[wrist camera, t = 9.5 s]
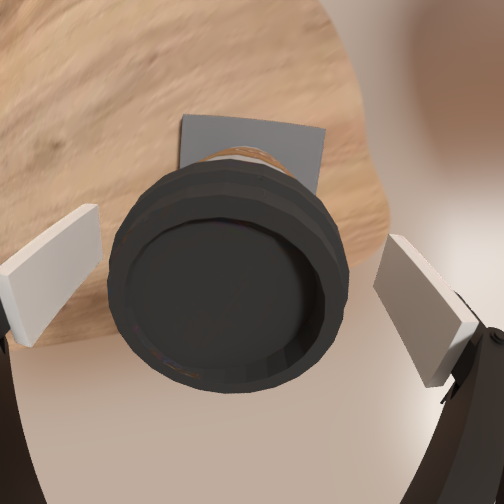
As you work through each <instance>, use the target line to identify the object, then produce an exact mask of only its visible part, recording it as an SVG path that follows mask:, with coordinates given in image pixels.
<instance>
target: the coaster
mask: <svg viewBox="0 0 504 504" xmlns="http://www.w3.org/2000/svg"><path fill="white" fill-rule="evenodd" d="M325 131H326V129H324V128H318V127H311V126H305V125H298V124H291V123H283V122H275V121H267V120H258V119H248V118H237V117H224V116H209V115H190V114H183V122H182V136H181V153H180V169H181V168H183V167H186V166H188V165H190V164H193V163H196V162H198V161H200V160H202V159H204V158H206V157H208V156H210V155H212V154H214V153H217V152H219V151H222V150H225V149H228V148H231V147H238V146H248V147H254V148H258V149H260V150H262V151H264V152H267V153H268V154H270V155H272V156H273V157H274V158H275V159H276V160H278V161H279V162H280V163H281V164H282V165H283V166H284V167H285V168H286V169H287V170H288V171H289V172H290V173H291V174H292V175H293V176H294V177H295V178H296V179H297V180H298V181H299V182H300V183H301V184H303V185H304V186H305V187H306V188H307V189H308V190H309V191H311V192H312V193H313V194H314V195H315V196H316V190H317V184H318V178H319V171H320V165H321V158H322V152H323V145H324V138H325Z"/></svg>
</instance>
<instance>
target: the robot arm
mask: <svg viewBox="0 0 504 504" xmlns="http://www.w3.org/2000/svg"><path fill="white" fill-rule="evenodd" d="M102 259H103V255H102V245H101V234H100V221H99V206H98V204H83V205H81V206H80V207H78V208H77V209H75V210H74V211H73V212H71V213H70V214H68V215H67V216H65V217H64V218H62V219H61V220H59V221H58V222H57V223H55V224H54V225H52V226H51V227H50V228H48V229H47V230H46V231H44V232H43V233H41V234H40V235H39V236H37V237H36V238H35V239H33V240H32V241H31V242H29V243H28V244H27V245H25V246H24V247H23V248H22V249H20V250H19V251H17V252H16V253H15V254H14V255H12V256H11V257H10V258H9V259H7V260H6V261H5V262H4V263H3V264H1V265H0V504H47V502H46V500H45V498H44V495H43V492H42V489H41V487H40V484H39V481H38V478H37V475H36V473H35V470H34V466H33V463H32V460H31V457H30V454H29V450H28V447H27V443H26V440H25V436H24V432H23V428H22V424H21V420H20V415H19V411H18V406H17V401H16V396H15V390H14V384H13V378H12V371H11V364H10V356H9V346H8V342H7V339H6V337H5V335H6V333H7V332H8V331H9V330H10V329H11V332H12V335H13V337H14V340H15V342H16V343H19V344H22V345H25V346H28V347H32V346H33V345H34V343H35V342H36V340H37V339H38V338H39V336H40V335H41V334H42V332H43V331H44V330H45V328H46V327H47V326H48V325H49V323H50V322H51V321H52V319H53V318H54V317H55V316H56V314H57V313H58V312H59V311H60V309H61V308H62V307H63V306H64V304H65V303H66V302H67V301H68V299H69V298H70V297H71V296H72V294H73V293H74V292H75V291H76V290H77V288H78V287H79V286H80V285H81V284H82V282H83V281H84V280H85V279H86V278H87V277H88V275H89V274H90V273H91V272H92V271H93V270H94V269H95V267H96V266H97V265H98V264H99V263H100V262H101V261H102ZM373 287H374V289H375V290H376V292H377V294H378V296H379V298H380V299H381V301H382V303H383V305H384V306H385V308H386V310H387V312H388V314H389V316H390V318H391V319H392V321H393V323H394V325H395V327H396V329H397V331H398V333H399V335H400V337H401V339H402V341H403V343H404V345H405V346H406V348H407V350H408V352H409V354H410V356H411V358H412V360H413V362H414V364H415V367H416V369H417V371H418V372H419V375H420V377H421V379H422V381H423V383H424V385H425V387H426V388H429V387H438V386H443V385H444V383H445V382H446V380H447V379H448V377H449V375H450V374H452V376H453V377H454V379H455V382H454V383H453V385H452V386H451V388H450V389H449V391H448V392H447V394H446V395H445V397H444V398H443V400H442V401H441V402H440V403H441V404H443V403H444V401H446V402H445V405H444V408H443V410H442V413H441V416H440V419H439V421H438V424H437V426H436V429H435V431H434V434H433V436H432V439H431V441H430V444H429V446H428V448H427V450H426V453H425V455H424V457H423V459H422V461H421V464H420V466H419V468H418V470H417V472H416V474H415V476H414V478H413V480H412V482H411V484H410V486H409V488H408V489H407V491H406V493H405V495H404V497H403V499H402V500H401V502H400V504H494V503H495V504H504V332H503V331H502V330H500V329H497V328H494V327H488V328H486V327H485V325H484V324H483V323H482V322H481V320H480V319H479V318H478V317H477V315H476V314H475V313H474V312H473V311H472V310H471V308H470V307H469V306H468V305H467V304H466V303H465V301H464V300H463V299H462V297H461V296H460V295H459V294H457V293H456V292H455V291H453V290H452V289H451V287H450V286H449V285H448V284H447V283H446V282H445V281H444V280H443V278H442V277H441V276H440V275H439V274H438V273H437V272H436V271H435V269H433V267H432V266H431V265H430V264H429V263H428V262H427V261H426V260H425V259H424V257H423V256H422V255H421V254H420V253H419V252H418V251H417V250H416V249H415V248H414V247H413V246H412V245H411V244H410V243H409V242H408V241H407V240H406V239H405V238H404V237H403V236H401V235H393V234H388V237H387V241H386V244H385V248H384V252H383V255H382V259H381V262H380V266H379V269H378V272H377V275H376V279H375V282H374V285H373Z"/></svg>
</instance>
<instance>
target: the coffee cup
mask: <svg viewBox="0 0 504 504" xmlns="http://www.w3.org/2000/svg"><path fill="white" fill-rule="evenodd" d="M348 286H349V268H348V264H347V260H346V256H345V252H344V248H343V244H342V241H341V238H340V234H339V231H338V227H337V225H336V224H335V222H334V221H333V219H332V217H331V216H330V214H329V212H328V211H327V209H326V208H325V206H324V205H323V203H322V201H321V200H320V199H318V198H317V197H316V196H315V195H314V194H313V193H312V192H311V191H309V190H308V189H307V188H306V187H305V186H304V185H303V184H301V183H300V182H299V181H298V180H297V179H296V178H295V177H294V176H293V175H292V174H291V173H290V172H289V171H288V170H287V169H286V168H285V167H284V166H283V165H282V164H281V163H280V162H279V161H278V160H276V159H275V158H274V157H273V156H272V155H270V154H268V153H267V152H264V151H262V150H260V149H258V148H254V147H248V146H238V147H231V148H228V149H225V150H222V151H219V152H217V153H214V154H212V155H210V156H208V157H206V158H204V159H202V160H200V161H198V162H196V163H193V164H190V165H188V166H186V167H183V168H181V169H179V170H176V171H174V172H171V173H169V174H167V175H165V176H163V177H162V178H161V179H160V180H158V181H157V182H156V183H155V184H154V185H152V186H151V187H150V188H149V189H148V190H147V191H145V192H144V193H143V194H142V195H141V196H140V197H139V199H138V200H137V202H136V204H135V205H134V206H133V207H132V209H131V210H130V212H129V213H128V215H127V216H126V218H125V220H124V221H123V223H122V225H121V226H120V228H119V229H118V231H117V233H116V235H115V239H114V242H113V246H112V251H111V255H110V259H109V275H108V279H107V288H108V300H109V308H110V310H111V313H112V316H113V318H114V321H115V324H116V326H117V329H118V331H119V332H120V334H121V335H122V337H123V338H124V339H125V341H126V342H127V344H128V345H129V346H130V348H131V349H132V350H133V352H135V353H136V354H137V355H138V356H139V357H140V358H141V359H142V360H143V361H144V362H146V363H147V364H148V365H149V366H150V367H151V368H153V369H154V370H156V371H158V372H159V373H161V374H163V375H165V376H166V377H168V378H170V379H171V380H173V381H175V382H179V383H181V384H184V385H187V386H190V387H192V388H195V389H198V390H204V391H211V392H217V393H224V394H226V393H228V394H229V393H251V392H256V391H261V390H265V389H270V388H274V387H277V386H279V385H281V384H283V383H286V382H288V381H290V380H292V379H295V378H297V377H298V376H300V375H301V374H303V373H304V372H305V371H307V370H308V369H309V368H310V367H312V366H313V365H314V364H316V363H317V362H318V361H319V360H320V359H321V358H322V356H323V355H324V354H325V353H326V351H327V350H328V349H329V347H330V346H331V345H332V343H333V342H334V340H335V338H336V335H337V333H338V330H339V328H340V325H341V323H342V320H343V313H344V307H345V305H346V302H347V299H348Z"/></svg>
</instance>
